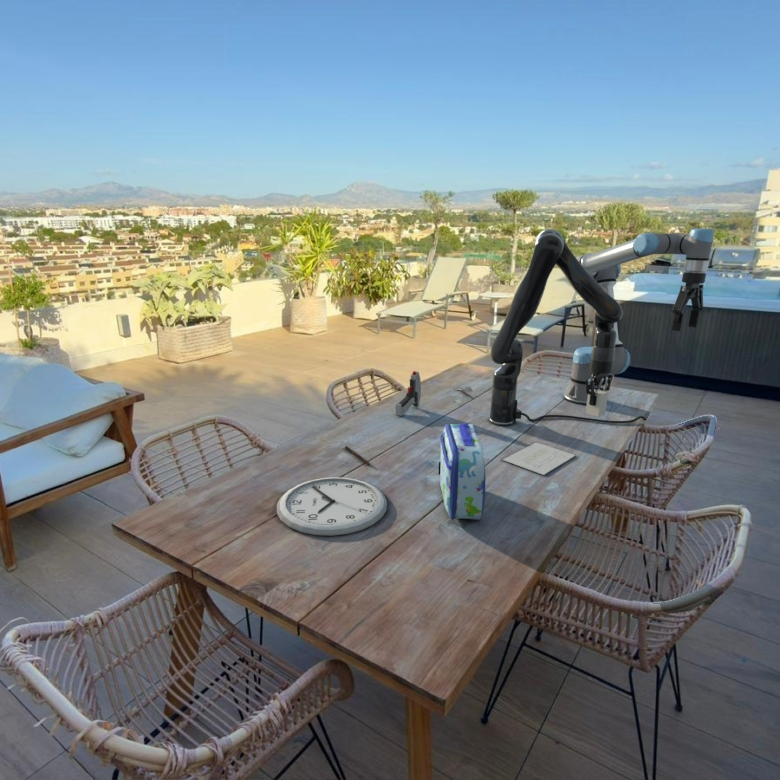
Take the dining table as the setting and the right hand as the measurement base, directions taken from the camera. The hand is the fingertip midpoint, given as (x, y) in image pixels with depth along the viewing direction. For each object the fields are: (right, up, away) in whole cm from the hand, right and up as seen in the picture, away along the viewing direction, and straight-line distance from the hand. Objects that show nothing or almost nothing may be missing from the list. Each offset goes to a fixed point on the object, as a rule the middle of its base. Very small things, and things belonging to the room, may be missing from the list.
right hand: (684, 328), depth 200 cm
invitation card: (-63, -46, -25) cm, 82 cm away
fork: (-79, -25, +43) cm, 93 cm away
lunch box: (-93, -55, -54) cm, 121 cm away
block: (-37, -32, -9) cm, 50 cm away
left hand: (-38, -28, -10) cm, 48 cm away
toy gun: (-105, -32, +17) cm, 111 cm away
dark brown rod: (-124, -46, -27) cm, 134 cm away
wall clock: (-128, -55, -57) cm, 151 cm away
